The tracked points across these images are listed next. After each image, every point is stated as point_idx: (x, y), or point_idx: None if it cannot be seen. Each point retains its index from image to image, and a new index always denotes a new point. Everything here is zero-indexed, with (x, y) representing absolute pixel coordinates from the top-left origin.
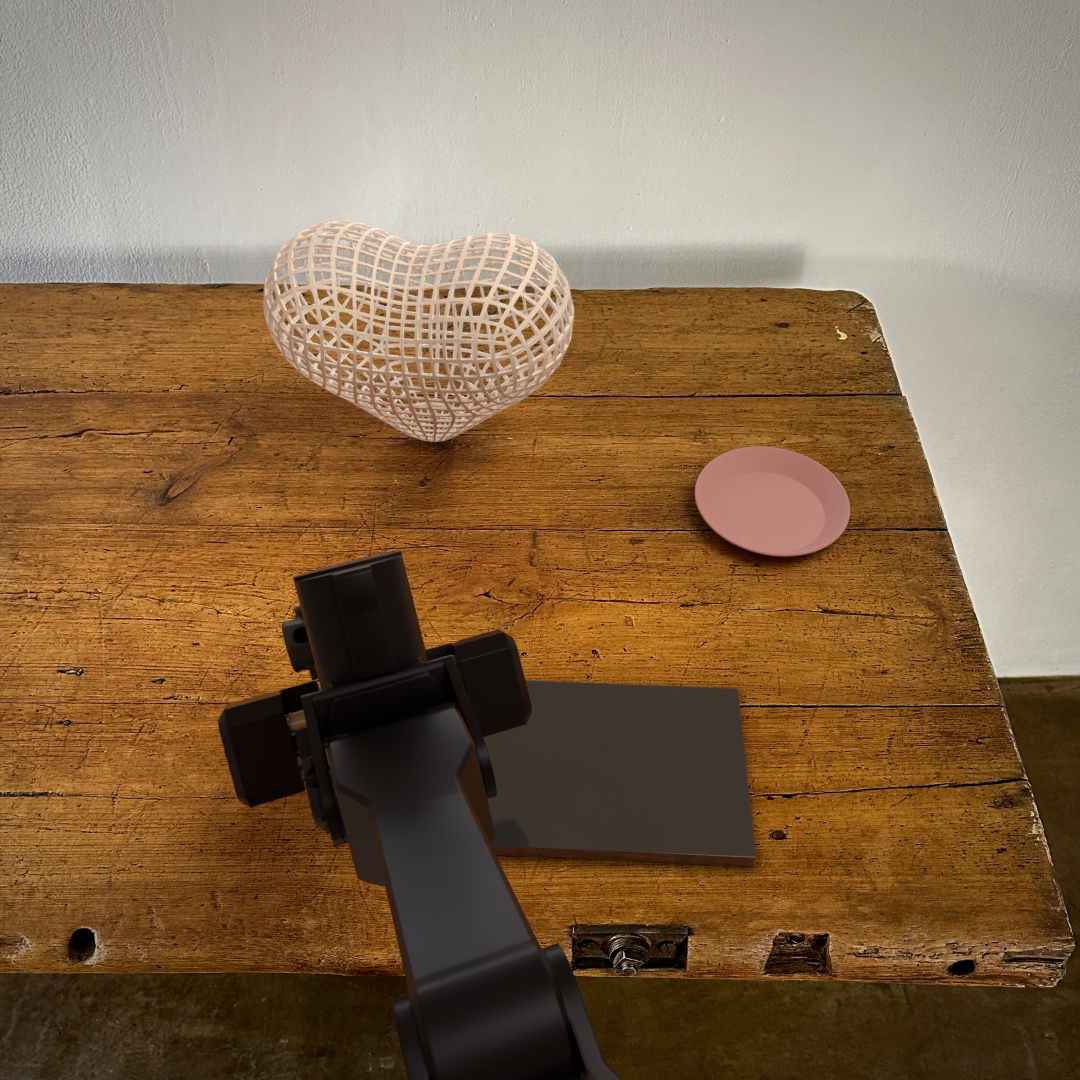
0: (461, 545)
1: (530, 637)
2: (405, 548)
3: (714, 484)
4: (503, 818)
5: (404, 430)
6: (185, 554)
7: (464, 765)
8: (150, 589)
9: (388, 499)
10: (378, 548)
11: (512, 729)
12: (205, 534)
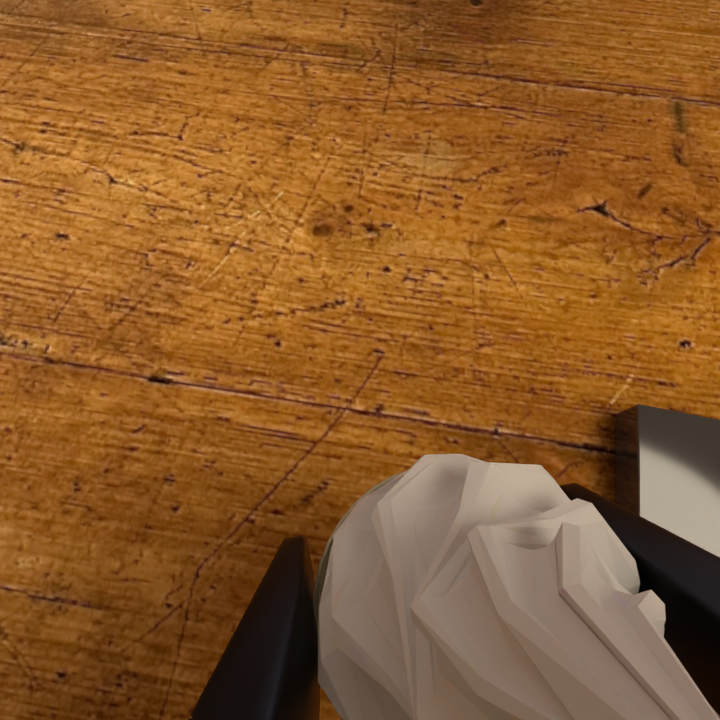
0: (547, 111)
1: (694, 309)
2: (447, 105)
3: None
4: None
5: None
6: (74, 72)
7: None
8: (5, 124)
9: (418, 20)
10: (400, 100)
11: (715, 554)
12: (113, 43)
